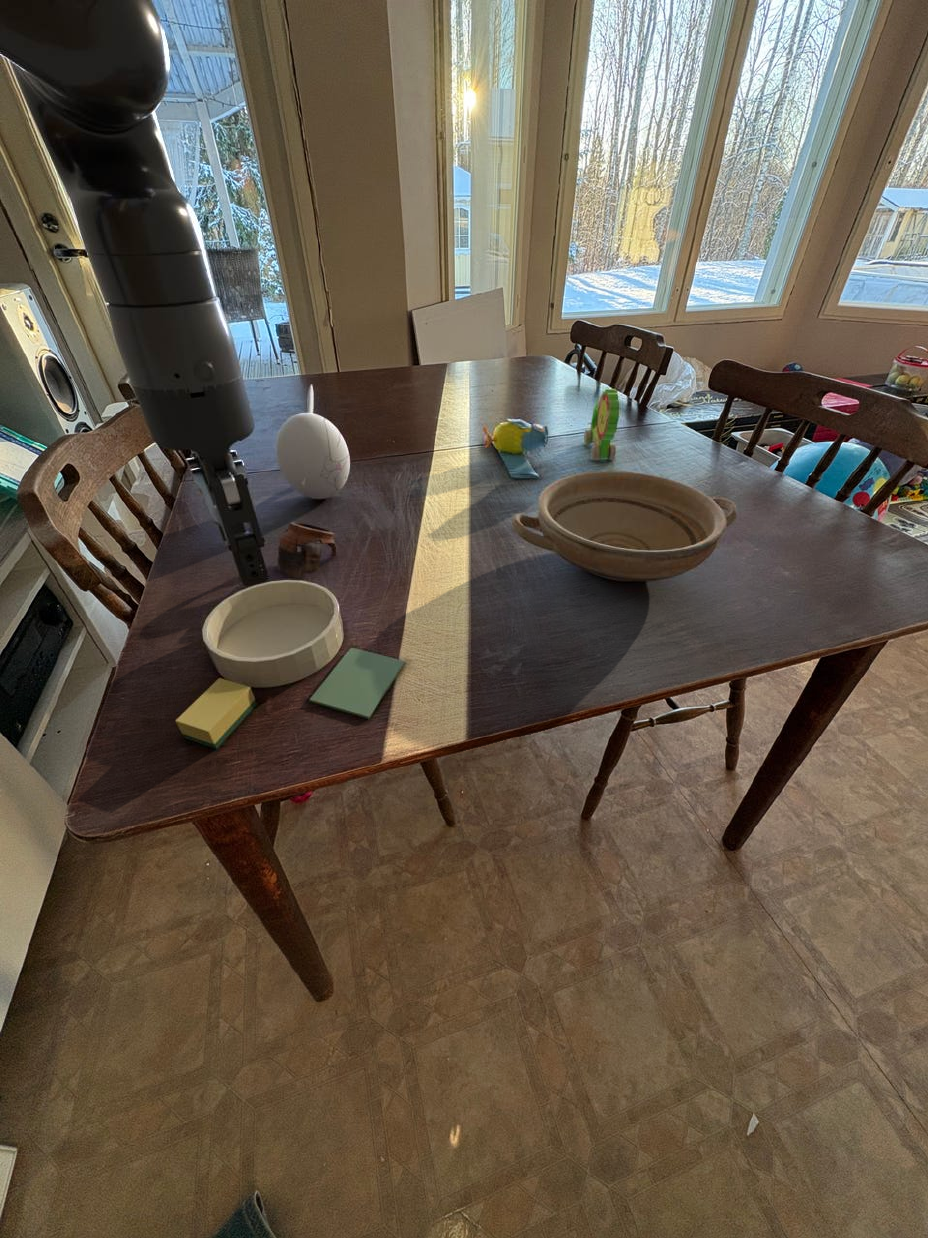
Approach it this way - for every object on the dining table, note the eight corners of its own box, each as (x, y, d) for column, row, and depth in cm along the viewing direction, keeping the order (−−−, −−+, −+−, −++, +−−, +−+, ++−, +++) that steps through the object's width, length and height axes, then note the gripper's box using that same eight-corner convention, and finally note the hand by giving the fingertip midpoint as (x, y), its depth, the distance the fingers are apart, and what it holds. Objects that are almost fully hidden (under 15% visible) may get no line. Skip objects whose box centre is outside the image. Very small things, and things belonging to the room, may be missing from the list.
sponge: (216, 749, 56) (208, 731, 54) (184, 738, 57) (174, 720, 56) (257, 704, 61) (250, 686, 60) (226, 695, 63) (219, 677, 61)
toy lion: (581, 442, 130) (590, 378, 121) (602, 442, 130) (613, 378, 121) (593, 466, 118) (604, 397, 109) (617, 466, 118) (630, 397, 109)
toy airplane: (473, 402, 128) (531, 400, 130) (472, 437, 133) (528, 435, 135) (498, 441, 106) (568, 438, 108) (496, 480, 112) (562, 477, 114)
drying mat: (368, 719, 60) (368, 716, 59) (309, 701, 62) (309, 699, 61) (405, 663, 67) (404, 661, 67) (351, 649, 69) (351, 647, 69)
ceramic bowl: (532, 624, 73) (539, 565, 67) (491, 528, 95) (493, 477, 89) (769, 598, 78) (795, 540, 71) (677, 513, 100) (691, 463, 93)
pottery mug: (267, 564, 87) (277, 516, 85) (322, 573, 92) (331, 528, 90) (284, 581, 77) (295, 528, 75) (344, 590, 82) (355, 540, 81)
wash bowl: (297, 702, 62) (288, 675, 59) (184, 668, 66) (171, 642, 63) (365, 618, 74) (361, 593, 71) (267, 595, 79) (259, 570, 76)
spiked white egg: (329, 436, 88) (347, 378, 105) (251, 443, 89) (282, 384, 106) (355, 525, 102) (367, 461, 119) (287, 531, 102) (309, 466, 119)
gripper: (123, 358, 41) (191, 537, 51) (137, 403, 31) (217, 612, 41) (221, 349, 44) (267, 519, 54) (261, 387, 34) (307, 585, 44)
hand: (245, 559), depth 48 cm, fingers open, 8 cm apart
